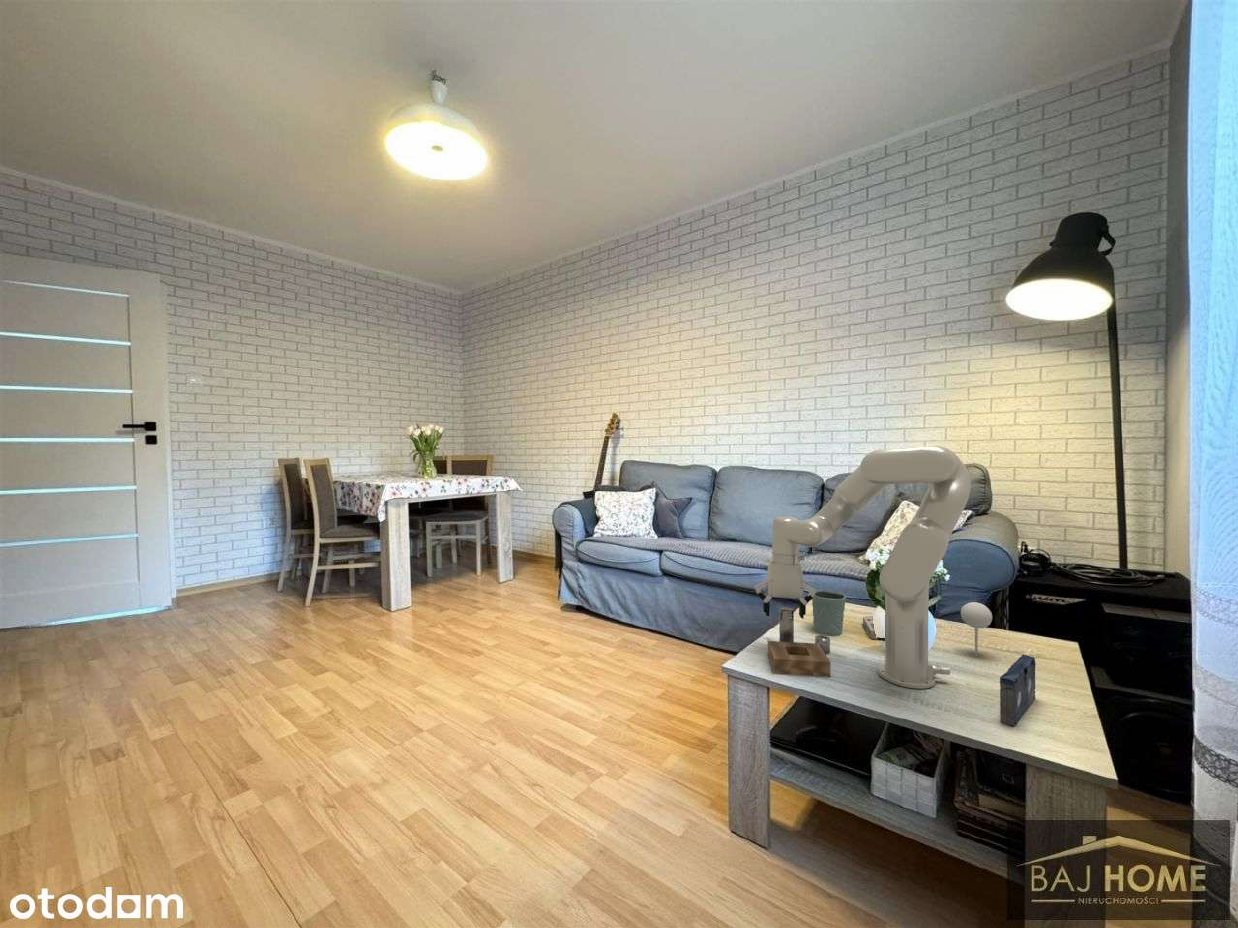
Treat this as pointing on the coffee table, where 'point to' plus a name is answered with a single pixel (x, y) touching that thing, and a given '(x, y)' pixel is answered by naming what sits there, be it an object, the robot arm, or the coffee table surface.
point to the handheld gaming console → (869, 626)
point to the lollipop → (976, 618)
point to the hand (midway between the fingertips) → (784, 615)
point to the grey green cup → (828, 612)
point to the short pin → (823, 643)
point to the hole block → (798, 659)
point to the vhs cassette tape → (1017, 690)
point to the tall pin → (786, 624)
